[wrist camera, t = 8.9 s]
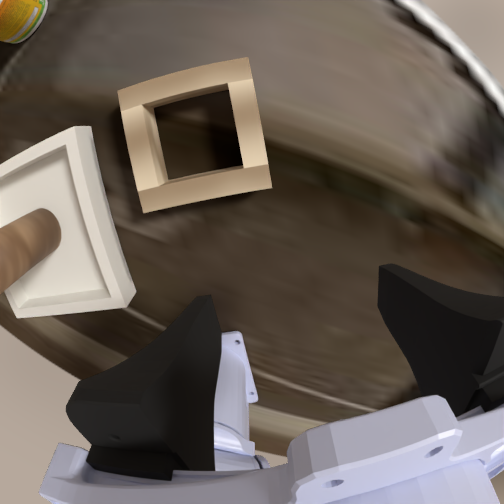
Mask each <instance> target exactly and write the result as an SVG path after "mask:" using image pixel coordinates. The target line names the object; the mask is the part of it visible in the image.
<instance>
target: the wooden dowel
mask: <svg viewBox="0 0 504 504" xmlns="http://www.w3.org/2000/svg"><path fill="white" fill-rule="evenodd" d="M60 242H61V228H60V224H59V222H58V220H57V218H56V217H55V215H54V214H53V213H52V212H51V211H49V210H47V209H45V208H39V209H36V210H34V211H32V212H30V213H28V214H26V215H24V216H22V217H20V218H18V219H16V220H14V221H13V222H11V223H9V224H7V225H5V226H3V227H1V228H0V294H2V293H3V292H4V291H5V290H6V289H7V288H8V287H10V286H11V285H12V284H13V283H14V282H16V281H17V280H18V279H19V278H20V277H22V276H23V275H24V274H25V273H26V272H28V271H29V270H30V269H31V268H33V267H34V266H35V265H36V264H38V263H39V262H40V261H42V260H43V259H44V258H45V257H47V256H48V255H49V254H51V253H52V252H53V251H55V250H56V249H57V248H58V247H59V245H60Z"/></svg>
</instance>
